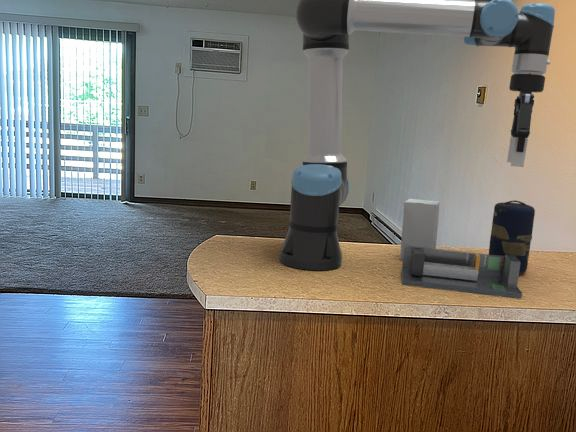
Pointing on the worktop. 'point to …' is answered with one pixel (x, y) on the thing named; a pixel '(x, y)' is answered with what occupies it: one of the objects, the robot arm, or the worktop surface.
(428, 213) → the skincare box
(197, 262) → the worktop surface
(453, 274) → the capped sliding bar
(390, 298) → the worktop surface
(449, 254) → the rail
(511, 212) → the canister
